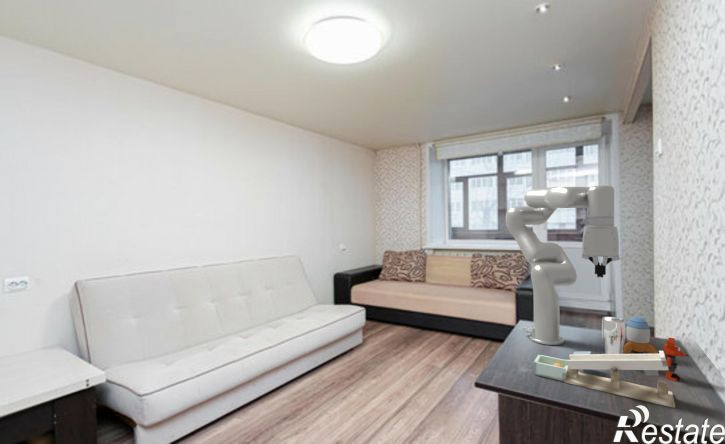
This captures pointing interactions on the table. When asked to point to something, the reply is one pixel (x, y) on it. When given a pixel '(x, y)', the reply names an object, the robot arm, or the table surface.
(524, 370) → the table surface
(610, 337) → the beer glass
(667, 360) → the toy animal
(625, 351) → the toy rocket
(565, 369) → the tray
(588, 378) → the stand
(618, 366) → the lever
